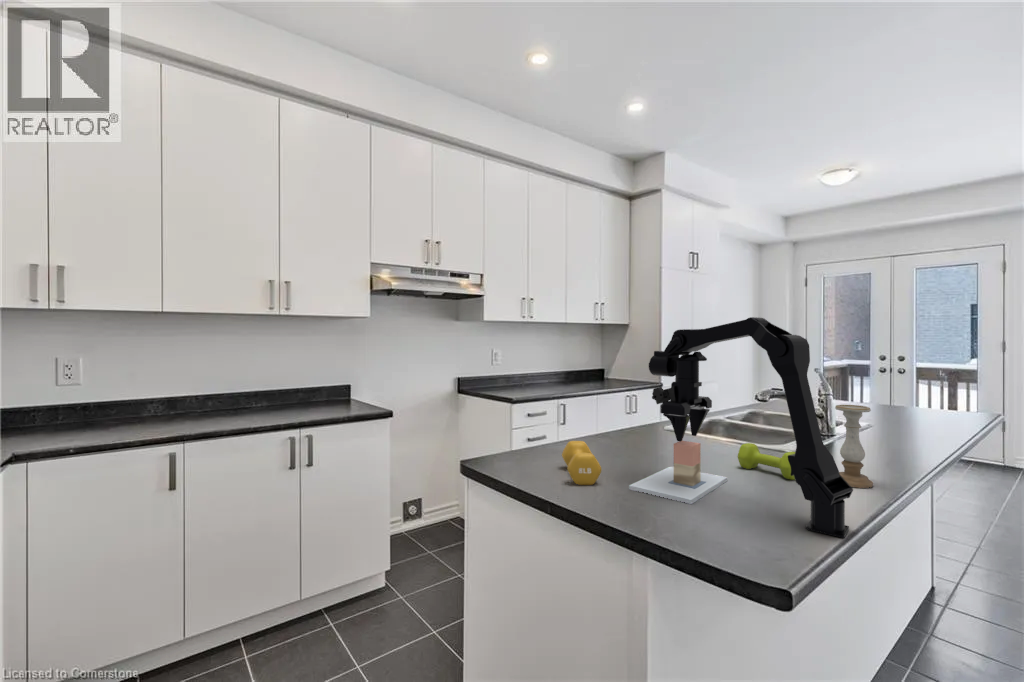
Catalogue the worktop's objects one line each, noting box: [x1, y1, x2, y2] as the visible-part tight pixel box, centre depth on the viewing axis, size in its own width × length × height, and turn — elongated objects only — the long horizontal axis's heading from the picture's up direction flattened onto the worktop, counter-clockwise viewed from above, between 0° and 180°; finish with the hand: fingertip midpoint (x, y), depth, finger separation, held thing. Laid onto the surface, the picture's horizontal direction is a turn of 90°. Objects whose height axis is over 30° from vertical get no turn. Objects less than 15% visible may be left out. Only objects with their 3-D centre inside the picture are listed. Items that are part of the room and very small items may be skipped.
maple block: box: [673, 462, 702, 486], centre depth 123 cm, size 5×5×5 cm
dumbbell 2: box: [737, 442, 796, 481], centre depth 136 cm, size 16×8×7 cm, turn 31°
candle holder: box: [834, 404, 874, 489], centre depth 126 cm, size 9×9×20 cm
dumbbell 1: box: [561, 440, 602, 486], centre depth 134 cm, size 19×9×8 cm, turn 179°
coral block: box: [673, 440, 702, 466], centre depth 123 cm, size 5×5×5 cm
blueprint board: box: [628, 466, 728, 505], centre depth 125 cm, size 24×16×1 cm, turn 137°
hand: (686, 438), depth 123 cm, fingers open, 9 cm apart
